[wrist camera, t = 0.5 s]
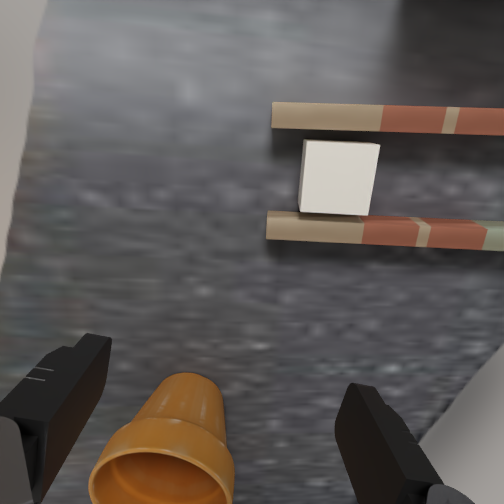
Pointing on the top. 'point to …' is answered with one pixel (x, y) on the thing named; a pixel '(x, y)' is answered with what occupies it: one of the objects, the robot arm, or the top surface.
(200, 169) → the top surface
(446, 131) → the channel
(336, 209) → the ivory block
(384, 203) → the top surface
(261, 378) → the top surface
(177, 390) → the flower pot
